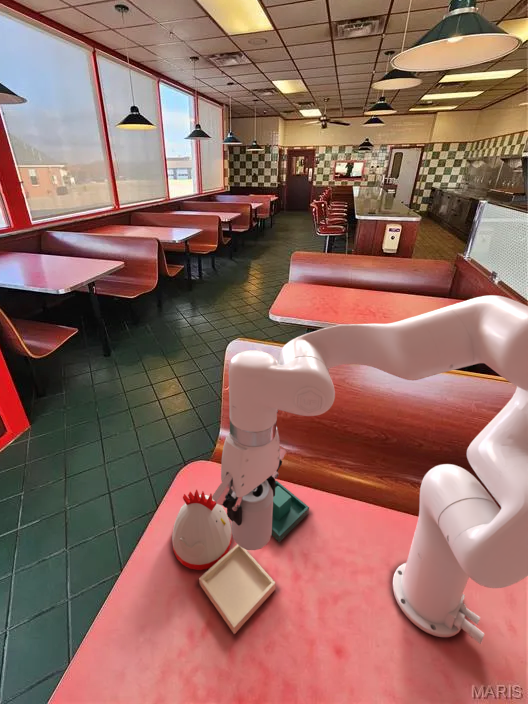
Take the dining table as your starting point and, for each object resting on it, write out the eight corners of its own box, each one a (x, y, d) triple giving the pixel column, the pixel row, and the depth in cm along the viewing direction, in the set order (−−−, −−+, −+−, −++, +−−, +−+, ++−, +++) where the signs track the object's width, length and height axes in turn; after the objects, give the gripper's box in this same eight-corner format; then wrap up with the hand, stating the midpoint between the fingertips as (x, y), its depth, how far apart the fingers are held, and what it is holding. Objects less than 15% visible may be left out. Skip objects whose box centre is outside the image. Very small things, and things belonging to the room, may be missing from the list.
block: (290, 509, 84) (291, 496, 82) (278, 520, 81) (279, 507, 80) (277, 498, 87) (278, 485, 86) (265, 508, 84) (266, 495, 83)
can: (269, 557, 58) (271, 508, 53) (227, 549, 59) (226, 500, 55) (273, 518, 65) (275, 472, 60) (236, 512, 66) (235, 466, 62)
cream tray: (275, 589, 68) (275, 582, 67) (234, 634, 61) (234, 627, 60) (239, 548, 76) (239, 542, 75) (199, 584, 69) (198, 578, 68)
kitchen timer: (220, 577, 70) (218, 528, 64) (162, 560, 73) (155, 512, 68) (238, 518, 82) (237, 473, 77) (187, 506, 86) (183, 462, 80)
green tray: (308, 513, 84) (309, 507, 83) (279, 542, 77) (279, 536, 76) (276, 486, 92) (276, 480, 91) (246, 510, 85) (246, 504, 84)
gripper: (272, 394, 61) (270, 467, 67) (194, 438, 50) (200, 520, 56) (305, 413, 56) (298, 491, 62) (225, 467, 45) (227, 554, 51)
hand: (251, 504), depth 59 cm, fingers closed on can, 7 cm apart
